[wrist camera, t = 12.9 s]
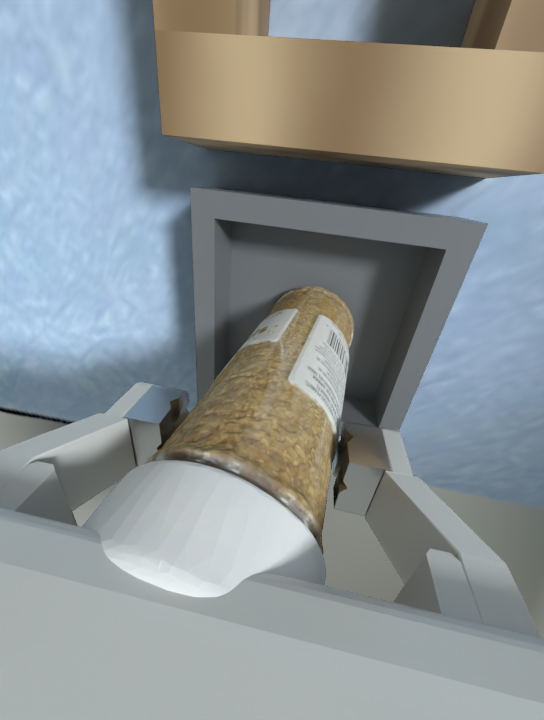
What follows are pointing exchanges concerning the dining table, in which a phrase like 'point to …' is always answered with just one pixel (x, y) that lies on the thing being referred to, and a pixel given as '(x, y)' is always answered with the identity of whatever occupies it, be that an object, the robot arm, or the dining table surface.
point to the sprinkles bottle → (243, 463)
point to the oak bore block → (356, 90)
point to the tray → (329, 284)
